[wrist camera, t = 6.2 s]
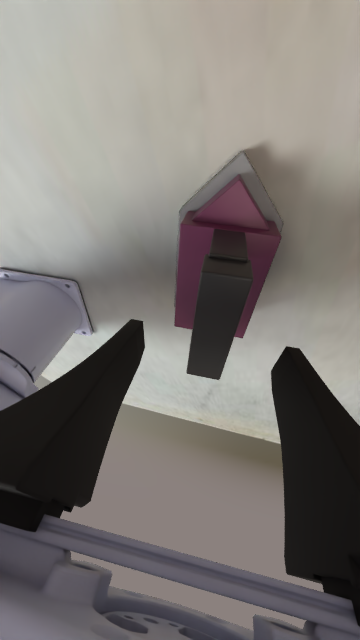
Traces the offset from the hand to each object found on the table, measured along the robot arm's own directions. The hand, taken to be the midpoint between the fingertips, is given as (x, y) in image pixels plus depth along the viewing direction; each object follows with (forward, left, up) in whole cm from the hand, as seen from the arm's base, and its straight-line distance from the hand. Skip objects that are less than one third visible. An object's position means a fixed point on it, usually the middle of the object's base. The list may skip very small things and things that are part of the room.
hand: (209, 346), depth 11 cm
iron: (0, +1, -9) cm, 9 cm away
